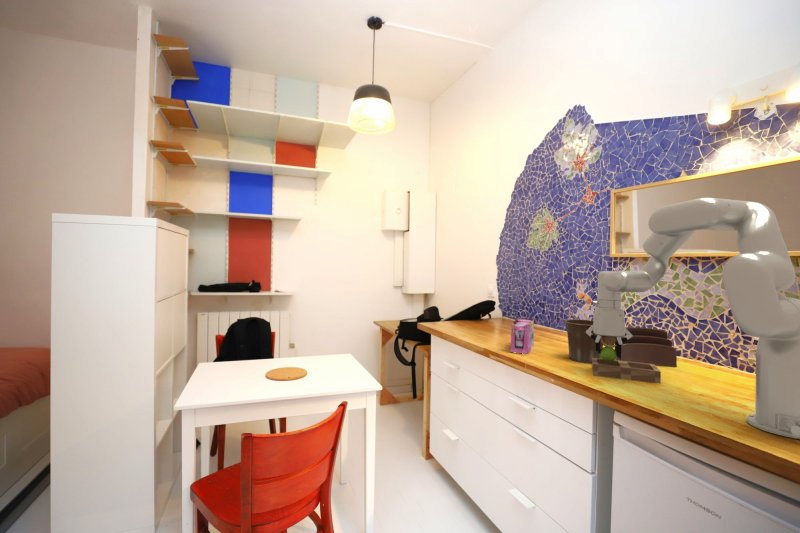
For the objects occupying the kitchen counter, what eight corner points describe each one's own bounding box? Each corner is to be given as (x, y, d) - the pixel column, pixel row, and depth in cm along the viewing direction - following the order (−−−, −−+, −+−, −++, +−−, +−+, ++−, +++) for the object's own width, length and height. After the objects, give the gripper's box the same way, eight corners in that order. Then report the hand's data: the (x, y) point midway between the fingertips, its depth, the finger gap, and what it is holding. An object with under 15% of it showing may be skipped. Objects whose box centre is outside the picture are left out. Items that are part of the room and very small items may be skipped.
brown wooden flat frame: (660, 383, 124) (660, 371, 124) (593, 375, 133) (593, 364, 133) (653, 374, 135) (653, 363, 135) (591, 367, 143) (592, 357, 143)
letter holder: (614, 358, 162) (614, 325, 162) (666, 362, 156) (667, 328, 157) (620, 363, 152) (621, 329, 153) (677, 367, 147) (677, 332, 147)
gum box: (527, 355, 163) (528, 324, 163) (509, 353, 166) (509, 323, 166) (533, 346, 184) (534, 318, 184) (517, 344, 188) (517, 317, 188)
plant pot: (603, 367, 145) (604, 326, 145) (559, 360, 154) (560, 321, 155) (609, 359, 158) (610, 321, 158) (569, 354, 167) (569, 318, 168)
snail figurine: (598, 358, 140) (599, 326, 140) (617, 361, 136) (619, 329, 136) (594, 360, 136) (596, 328, 136) (614, 364, 132) (616, 330, 132)
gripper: (583, 304, 136) (582, 353, 136) (638, 306, 129) (637, 359, 129) (582, 302, 143) (582, 349, 143) (634, 305, 136) (634, 354, 136)
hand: (608, 353), depth 136 cm, fingers closed on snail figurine, 5 cm apart
